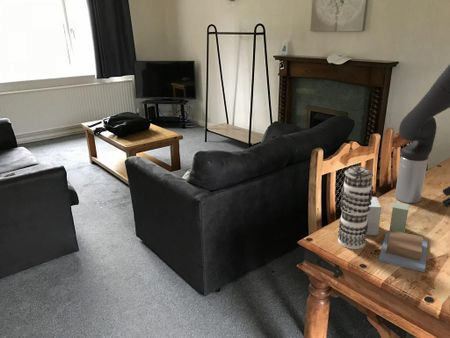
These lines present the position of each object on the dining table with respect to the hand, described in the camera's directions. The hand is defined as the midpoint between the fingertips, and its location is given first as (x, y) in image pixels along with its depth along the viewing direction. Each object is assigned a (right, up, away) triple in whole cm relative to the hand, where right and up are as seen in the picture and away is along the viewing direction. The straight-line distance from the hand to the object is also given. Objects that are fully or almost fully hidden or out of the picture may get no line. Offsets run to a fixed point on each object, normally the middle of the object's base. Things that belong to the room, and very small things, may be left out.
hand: (444, 198), depth 112 cm
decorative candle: (-27, -14, +5) cm, 31 cm away
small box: (-19, -11, +11) cm, 25 cm away
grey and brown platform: (-13, -16, -2) cm, 21 cm away
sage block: (-9, -11, +10) cm, 18 cm away
